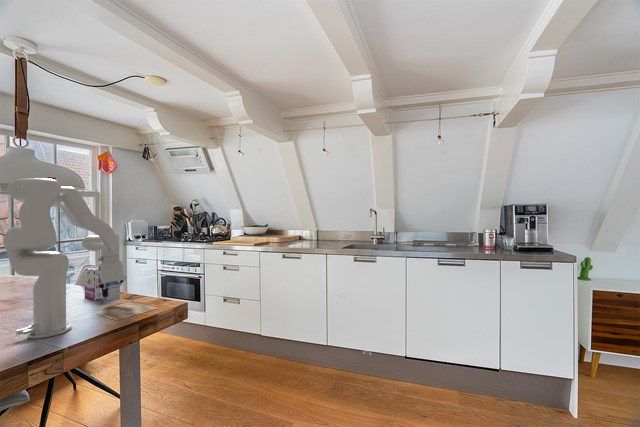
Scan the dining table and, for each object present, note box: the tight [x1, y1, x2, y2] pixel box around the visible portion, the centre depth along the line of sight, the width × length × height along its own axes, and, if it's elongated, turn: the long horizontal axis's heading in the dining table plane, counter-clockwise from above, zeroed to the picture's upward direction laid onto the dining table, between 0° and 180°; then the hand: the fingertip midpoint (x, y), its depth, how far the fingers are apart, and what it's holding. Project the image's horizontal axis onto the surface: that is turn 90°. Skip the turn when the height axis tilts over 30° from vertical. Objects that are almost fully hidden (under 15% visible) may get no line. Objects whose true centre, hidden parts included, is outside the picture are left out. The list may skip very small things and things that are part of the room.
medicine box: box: [101, 282, 121, 303], centre depth 147 cm, size 8×4×9 cm, turn 62°
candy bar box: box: [83, 266, 102, 302], centre depth 162 cm, size 11×5×16 cm, turn 60°
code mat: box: [96, 302, 158, 322], centre depth 140 cm, size 18×18×1 cm
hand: (111, 295), depth 147 cm, fingers closed on medicine box, 4 cm apart
